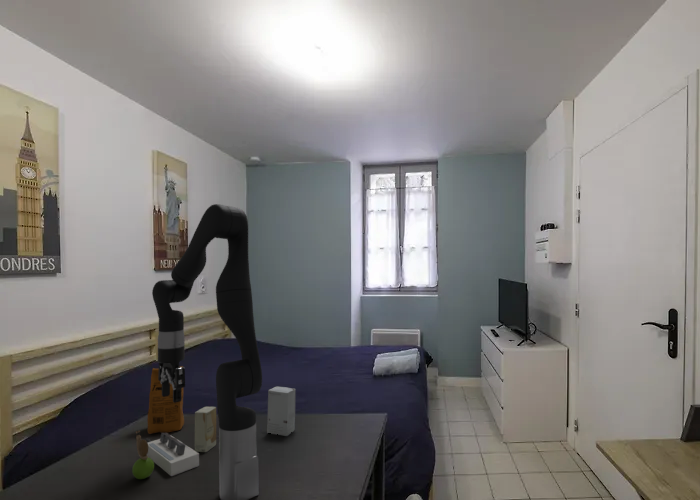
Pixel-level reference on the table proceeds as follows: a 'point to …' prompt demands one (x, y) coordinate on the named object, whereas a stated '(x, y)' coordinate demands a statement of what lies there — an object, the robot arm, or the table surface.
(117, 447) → the table surface
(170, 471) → the strip
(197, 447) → the skincare box
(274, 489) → the table surface
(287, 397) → the skincare box
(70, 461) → the table surface
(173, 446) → the breaker paddles
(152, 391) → the coffee package
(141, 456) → the snail figurine
